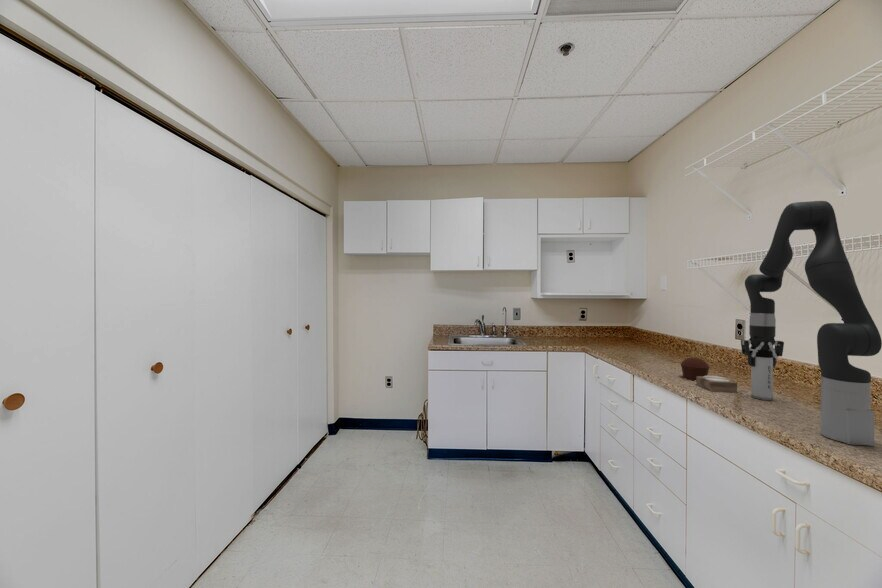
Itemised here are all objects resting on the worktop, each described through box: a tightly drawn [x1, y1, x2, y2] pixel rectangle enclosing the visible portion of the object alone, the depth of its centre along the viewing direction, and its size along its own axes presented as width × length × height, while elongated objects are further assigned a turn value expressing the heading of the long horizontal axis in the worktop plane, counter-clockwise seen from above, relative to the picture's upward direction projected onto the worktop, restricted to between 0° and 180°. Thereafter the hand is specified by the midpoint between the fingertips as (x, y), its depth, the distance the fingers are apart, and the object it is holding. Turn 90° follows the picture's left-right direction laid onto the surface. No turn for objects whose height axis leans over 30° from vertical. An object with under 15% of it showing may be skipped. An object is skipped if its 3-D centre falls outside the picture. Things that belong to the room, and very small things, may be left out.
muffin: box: [680, 357, 710, 381], centre depth 164 cm, size 12×11×10 cm
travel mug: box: [750, 346, 774, 401], centre depth 134 cm, size 6×7×20 cm
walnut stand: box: [695, 375, 738, 393], centre depth 147 cm, size 10×10×4 cm
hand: (761, 366), depth 134 cm, fingers closed on travel mug, 6 cm apart
